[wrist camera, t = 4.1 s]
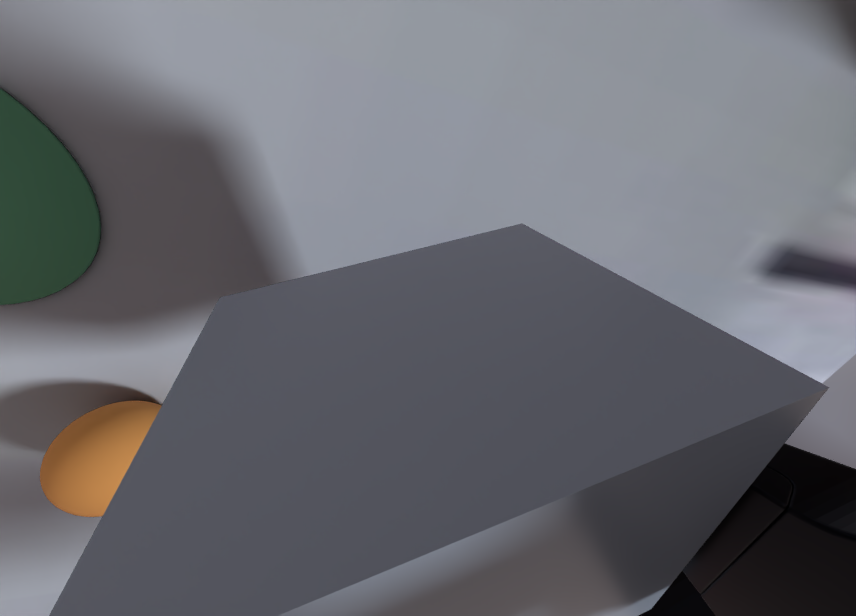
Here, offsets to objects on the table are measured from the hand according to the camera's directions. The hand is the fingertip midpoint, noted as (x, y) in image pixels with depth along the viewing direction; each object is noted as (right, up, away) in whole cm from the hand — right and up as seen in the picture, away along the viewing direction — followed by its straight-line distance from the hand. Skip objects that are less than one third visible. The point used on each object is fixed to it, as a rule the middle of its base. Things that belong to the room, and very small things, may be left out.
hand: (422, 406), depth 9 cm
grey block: (0, +1, +1) cm, 2 cm away
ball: (-15, -4, +7) cm, 17 cm away
